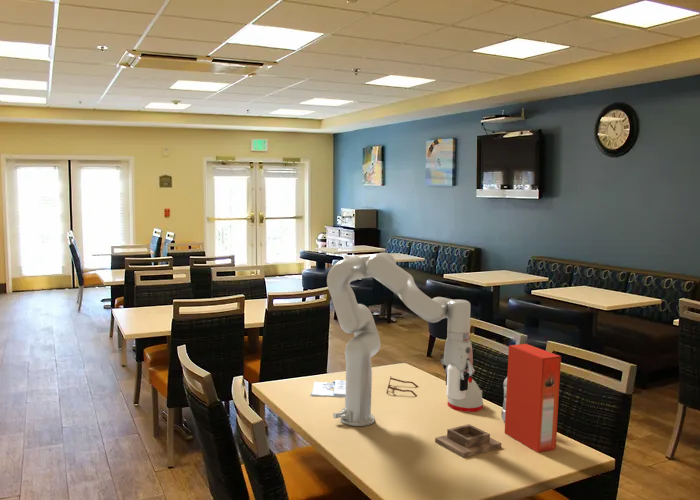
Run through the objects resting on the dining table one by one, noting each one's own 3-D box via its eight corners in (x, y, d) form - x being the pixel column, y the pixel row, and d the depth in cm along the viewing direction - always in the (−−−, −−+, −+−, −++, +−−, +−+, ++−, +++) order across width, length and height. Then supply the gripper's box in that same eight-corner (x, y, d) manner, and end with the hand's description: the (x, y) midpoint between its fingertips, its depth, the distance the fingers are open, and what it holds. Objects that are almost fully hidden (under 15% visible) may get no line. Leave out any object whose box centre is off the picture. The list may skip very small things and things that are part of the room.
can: (465, 401, 208) (466, 366, 207) (446, 399, 209) (447, 365, 208) (465, 395, 214) (466, 361, 213) (446, 393, 215) (447, 360, 214)
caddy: (463, 457, 197) (464, 444, 197) (435, 442, 209) (435, 429, 208) (501, 447, 206) (501, 434, 206) (471, 432, 218) (472, 420, 217)
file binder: (536, 452, 203) (542, 358, 200) (503, 433, 218) (508, 345, 215) (555, 449, 206) (561, 356, 203) (522, 430, 222) (527, 343, 219)
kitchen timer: (471, 398, 254) (473, 363, 253) (489, 410, 241) (491, 373, 240) (441, 401, 250) (443, 365, 249) (457, 413, 237) (459, 375, 236)
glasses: (388, 385, 270) (388, 374, 269) (418, 387, 268) (418, 376, 268) (386, 395, 257) (386, 383, 256) (417, 397, 255) (418, 385, 255)
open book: (358, 399, 251) (358, 394, 251) (309, 397, 251) (309, 392, 251) (358, 384, 270) (358, 379, 270) (312, 383, 270) (313, 378, 270)
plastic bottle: (498, 418, 233) (501, 367, 231) (515, 418, 233) (518, 367, 231) (504, 425, 226) (507, 372, 224) (521, 425, 227) (525, 372, 225)
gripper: (484, 340, 204) (482, 392, 206) (449, 330, 219) (447, 379, 220) (468, 342, 200) (466, 396, 202) (433, 332, 215) (431, 382, 216)
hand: (456, 387), depth 211 cm, fingers closed on can, 6 cm apart
